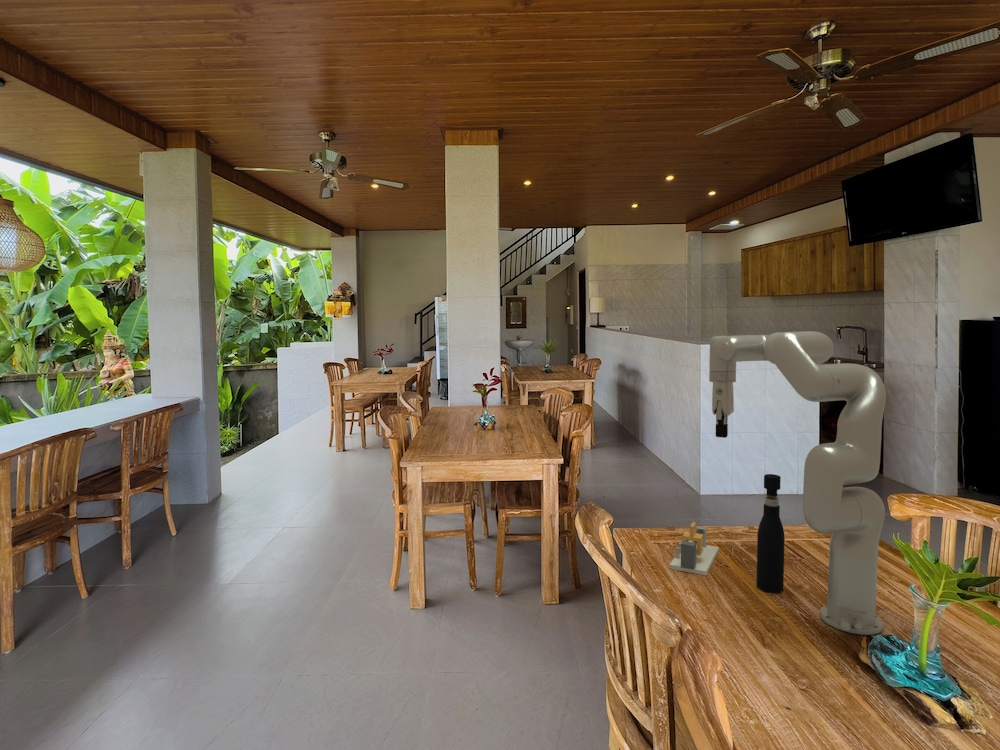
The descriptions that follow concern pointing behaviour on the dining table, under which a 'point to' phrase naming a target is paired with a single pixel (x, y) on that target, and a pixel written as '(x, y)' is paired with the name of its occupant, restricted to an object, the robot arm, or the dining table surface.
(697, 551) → the sleeve
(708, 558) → the linear slide rail
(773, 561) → the black water bottle
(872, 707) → the dining table surface
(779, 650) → the dining table surface
